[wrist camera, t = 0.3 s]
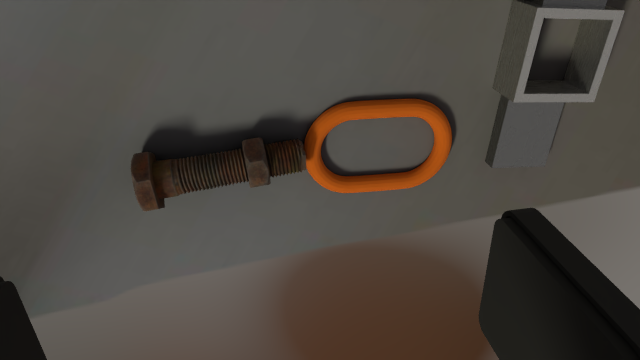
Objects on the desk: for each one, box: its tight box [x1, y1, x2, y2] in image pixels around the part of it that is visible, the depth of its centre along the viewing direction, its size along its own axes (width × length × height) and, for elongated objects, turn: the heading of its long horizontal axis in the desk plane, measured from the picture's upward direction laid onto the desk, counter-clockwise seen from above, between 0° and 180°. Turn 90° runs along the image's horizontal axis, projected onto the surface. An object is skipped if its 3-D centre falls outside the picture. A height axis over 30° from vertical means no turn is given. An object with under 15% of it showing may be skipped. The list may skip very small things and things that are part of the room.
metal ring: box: [304, 99, 452, 193], centre depth 49 cm, size 10×2×15 cm
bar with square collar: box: [485, 0, 625, 168], centre depth 45 cm, size 24×8×4 cm, turn 177°
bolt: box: [131, 138, 306, 211], centre depth 45 cm, size 6×5×15 cm
